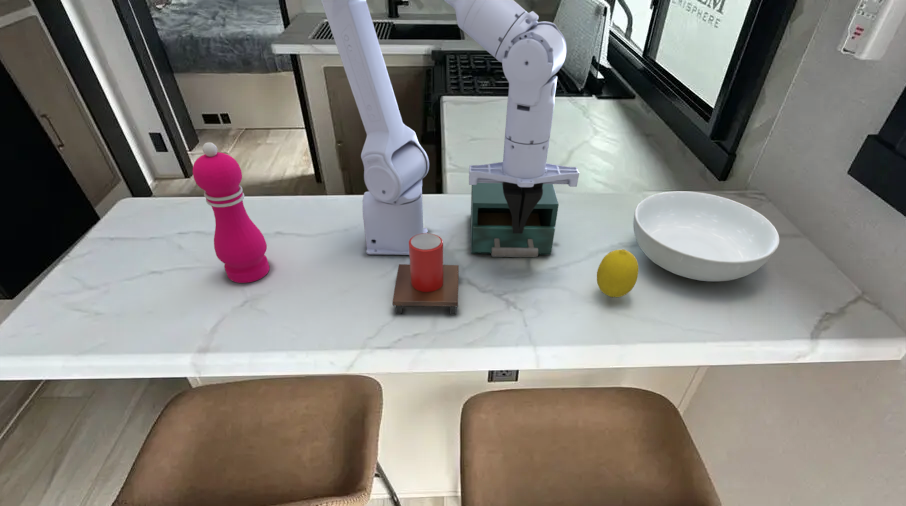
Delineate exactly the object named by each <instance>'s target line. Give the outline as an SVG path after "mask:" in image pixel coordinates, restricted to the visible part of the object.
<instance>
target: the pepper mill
mask: <svg viewBox="0 0 906 506" xmlns="http://www.w3.org/2000/svg"><path fill="white" fill-rule="evenodd" d="M202 152H203V154H202V155H200V156H199V157H197V159H195V161H194V163H193V165H192V177H193V179H194V182H195V184H196V185H197V186H198V187H199V188H200V189H202V191H204V192H203V196H204V198H205V202H206V204H207V205H208V206H210V207H211V209H212V211H213V215H214V218H215V219H214V222H215V225H214V226H215V227H214V228H215V229H214V234H213V235H214V236H213V247H214V252H215V255H216V257H217V259H218V260H219V261H220V262H222V263H223V264H224V266H223V267H224V270H225V273H226V276H227V278H228V279H229V280H230V281H232V282H234V283H239V284H247V283H253V282H256V281H258V280H261V279H262V278H264V277H265V276H266V275H268V273H269V272H270V264H269V261H268V258H267V256H266V255H265V254H266V252H267V248H268V245H267V241H266V239H265V237H264V235H263V233H262V231H261V230H260V229H259V227H258V226H257V225H256V224H255V223H254V222H253V220H252V219H251V218H250V216H249V214H248V213H247V209H246V208H245V206H244V205H245V204H244V201H243V200H244V198H245V193H244V191H243V187H242V185H240V184H241V182H242V179H243V172H242V169H241V167H240V164H239V163H238V161H237V160H236V159H235V158H234V157H233V156H231V155H230V154H228V153H223V152H219V151H218V147H217V146H216V144H215V143H213V142H212V141H211V142H208V141H207V142H205V143H204V144H203V145H202Z"/></svg>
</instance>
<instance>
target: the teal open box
mask: <svg viewBox="0 0 906 506" xmlns="http://www.w3.org/2000/svg"><path fill="white" fill-rule="evenodd" d="M542 188H543V195H542V197H541V199H540V201H539V202H538V203H537V204H536V206H535V207H534V209H533V210H532V212H531V213H538V214H539V219H540V223H541V226H554V227H555V228H556V224H557V219H558V212H559V211H558V210H559V201H558V198H557V193H556V190H555V186H554V184H543V186H542ZM470 191H471V192H470V254H483V255H484V254H485V255H486V254H487V255H488V254H489V255H490V254H491V252H473V226H474V225H477V220H478V213H510V209H509V206H508V204H507V201H506V199H505V196H504V193H503V186H502V183H477V185H471V190H470ZM538 255H552V252H551V253H538Z"/></svg>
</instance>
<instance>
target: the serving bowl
mask: <svg viewBox="0 0 906 506" xmlns="http://www.w3.org/2000/svg"><path fill="white" fill-rule="evenodd" d="M632 222H633V223H632V224H633V233H634V237H635V241H636V243H637V245H638V246H639V249H641V251H642V252H643V253H644V254H645V256H646V257H647V258H648V259H649V260H650V261H652V262H653V263H654V264H656V265H657V266H659V267H660V268H662V269H664V270H665V271H668V272H669V273H672V274H674V275H676V276H679V277H683V278H687V279H690V280H695V281H696V280H697V281H702V282H727V281H734V280H737V279H740V278H744V277H746V276H748V275H751V274H752V273H754V272H756V271H758V270H760V268H761V267H763V266H764V265H765V264H766V263H768V261H769V260H770V259H771V258H772V256H773V255H774V254H775V253H776V251H777V249H778V247H779V246H780V234H779V231H778V230H777V229H776V227H775V225H774V224H773V223H772V222H771V221H770V220H769V219H768V218H766V216H764V215H763V214H761V213H760V212H758V211H757V210H755V209H753V208H751V207H749V206H747V205H745V204H743V203H740V202H738V201H735V200H732V199H729V198H727V197H724V196H721V195H720V196H719V195H715V194H711V193H705V192H699V191H684V190H680V191H679V190H678V191H677V190H675V191H665V192H659V193H655V194H653V195H649V196H647V197H645V198H643V199H642V200H641V201H639V203H638V204H637V205H636V207H635V209H634V214H633V221H632Z"/></svg>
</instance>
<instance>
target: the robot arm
mask: <svg viewBox="0 0 906 506" xmlns="http://www.w3.org/2000/svg"><path fill="white" fill-rule="evenodd" d="M443 1H444V3H446V4H448V5H449V6H450V7H451V8H453V9H454V13H455V17H456V22H457V23H456V24H457V26H458V28H459V29H460V30H462V32H463V33H465V34H466V35H467V36H468V37H470V38H471V40H473V41H475V42H476V43H477V44H478V45H479V46H480V47H482V48H483V49H484V50H485V51H486V52H487V53H489V54H490V55H491V56H492V57H493V58H495V59H496V60H497V61H498V62H499V63H501V64H502V71H503V74H504V76H505V78H506V80H507V82H508V93H507V94H508V95H507V104H506V116H505V117H506V118H505V130H504V141H503V154H502V155H503V156H502V161H500V162H498V161H497V162H492V163H483V164H470V165H469V166H468V167H469V168H468V185H469V186H472V185H477V183H502V186H503V193H504V196H505V199H506V201H507V204H508V206H509V209H510V213H511V216H512V229H513V233H519V234H522V233H523V230H524V227H525V224H526V222H527V219H528V217H529V215H530V214H531V212H532V210H533V209H534V207H535V206H536V204H537V203H538V202H539V201H540V199H541V197H542V195H543V188H542V186H543V184H553V185H568V187H572V188H574V187H575V188H577V187H578V182H579V177H580V172H579V171H580V170H579V169H578V167H577V166H566V165H559V164H552V163H548V161H547V160H548V154H549V145H550V140H551V132H552V124H553V118H554V111H555V102H556V97H555V96H556V90H557V82H558V76H557V75H556V74H557V73H558V72H559V71H560V69H561V68H562V67H563V65H564V63H565V61H566V58H567V54H568V53H567V52H568V47H567V42H566V38H565V36H564V34H563V33H562V32H561V31H560V29H559V28H558V25H556V24H555V23H554V22H551V21H544V20H543V21H538V20H539V17H540V16H539V15H538V14H537V13H536V12H535V11H534V10H532V11H530V12H528V11H527V10H525V9H524V8H523V7H522V6H521V5H520V4H519V3H518V2H517V1H515V0H443ZM320 2H321V6H322V7H323V11H324V14H325V16H326V20H327V23H328V25H329V28H330V31H331V34H332V37H333V40H334V43H335V46H336V49H337V52H338V55H339V57H340V60H341V63H342V66H343V69H344V72H345V75H346V78H347V81H348V83H349V86H350V89H351V93H352V96H353V97H354V101H355V104H356V108H357V110H358V113H359V116H360V120H361V121H362V124H363V128H364V131H365V133H366V137H365V141H364V144H363V146H362V150H361V153H360V159H361V161H362V164H363V170H364V171H363V180H364V181H363V182H364V184H365V187H366V189H367V191H365V192H364V193H363V196H362V222H363V228H364V236H365V243H366V244H365V245H366V251H365V253H366V254H367V255H385V256H386V255H387V256H388V255H392V256H393V255H394V256H395V255H396V256H410V255H409V240H410V239H411V238H412V237H413V236H415V235H418V234H422V233H428V228H427V227H424V209H423V207H424V206H423V205H424V204H423V179H424V178H425V177H426V176H427V174H428V173H429V170H430V160H429V156H428V154H427V152H426V151H425V149H424V148H423V146H422V145H421V144H420V142H419V139H418V137H417V134H416V132H415V130H413V129H412V128H411V127H409V126H407V125H406V124H405V123H404V122H403V118H402V115H401V112H400V110H399V105H398V101H397V98H396V95H395V92H394V89H393V84H392V81H391V79H390V75H389V73H388V69H387V66H386V65H387V64H386V62H385V59H384V56H383V52H382V49H381V46H380V42H379V39H378V35H377V32H376V29H375V25H374V22H373V19H372V16H371V13H370V9H369V6H368V1H367V0H320Z"/></svg>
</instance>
